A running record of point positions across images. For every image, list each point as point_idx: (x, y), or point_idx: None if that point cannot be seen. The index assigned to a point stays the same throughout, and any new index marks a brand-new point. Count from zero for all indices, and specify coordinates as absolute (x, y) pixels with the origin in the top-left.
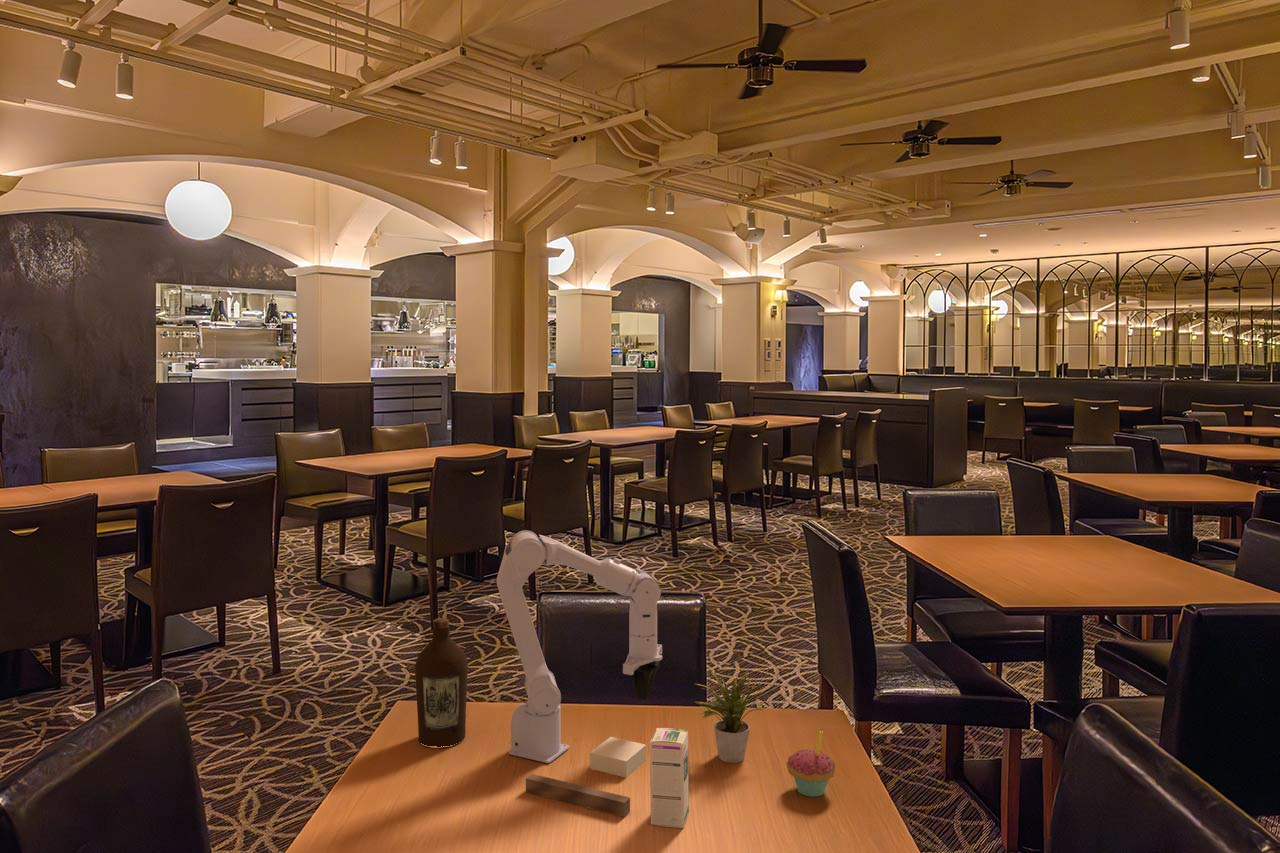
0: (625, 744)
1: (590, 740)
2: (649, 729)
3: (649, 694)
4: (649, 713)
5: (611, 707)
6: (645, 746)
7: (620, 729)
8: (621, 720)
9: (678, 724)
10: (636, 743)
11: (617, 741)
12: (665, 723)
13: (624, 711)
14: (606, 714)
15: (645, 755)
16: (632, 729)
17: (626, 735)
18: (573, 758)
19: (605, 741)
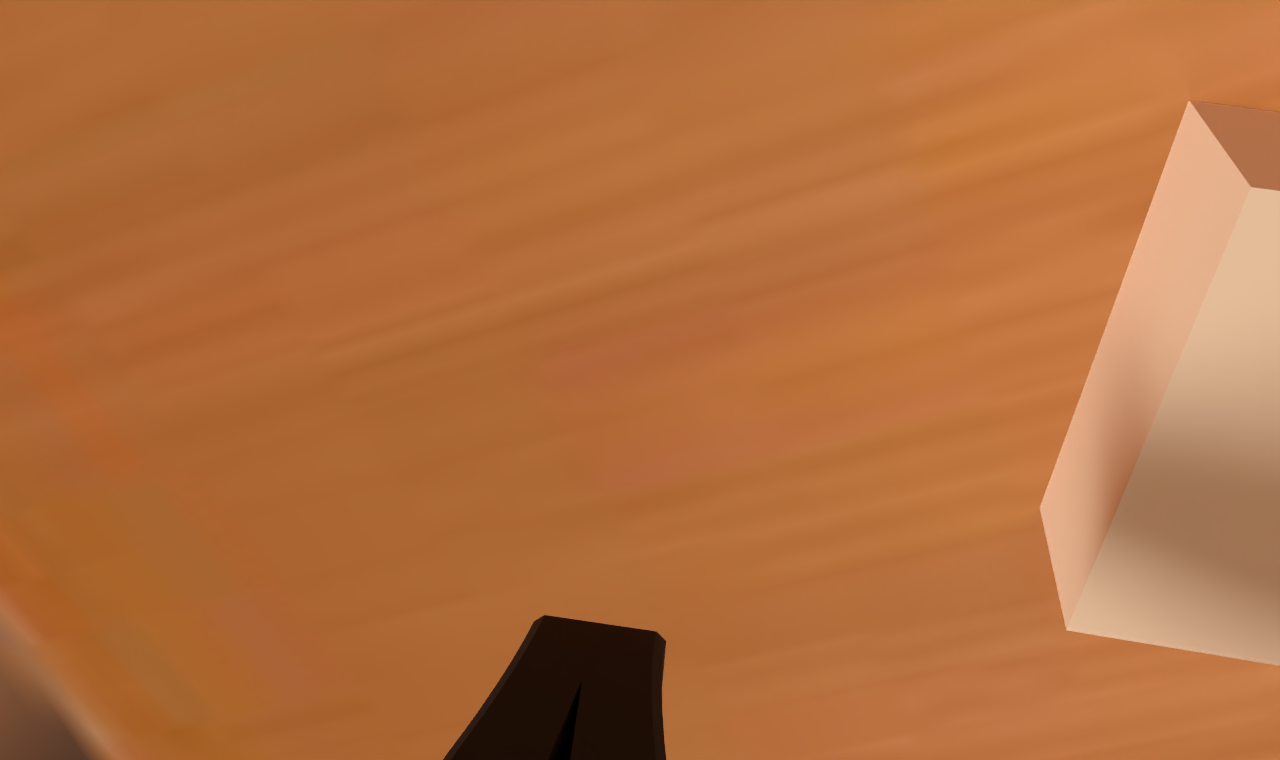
0: (1276, 437)
1: (830, 707)
2: (346, 318)
3: (547, 666)
4: (9, 422)
5: (125, 715)
6: (1266, 183)
7: (493, 557)
8: (308, 595)
9: (33, 55)
10: (1224, 322)
11: (1197, 539)
12: (108, 206)
13: (124, 617)
14: (271, 717)
15: (1235, 131)
16: (436, 465)
17: (595, 478)
18: (1255, 737)
19: (1221, 646)
